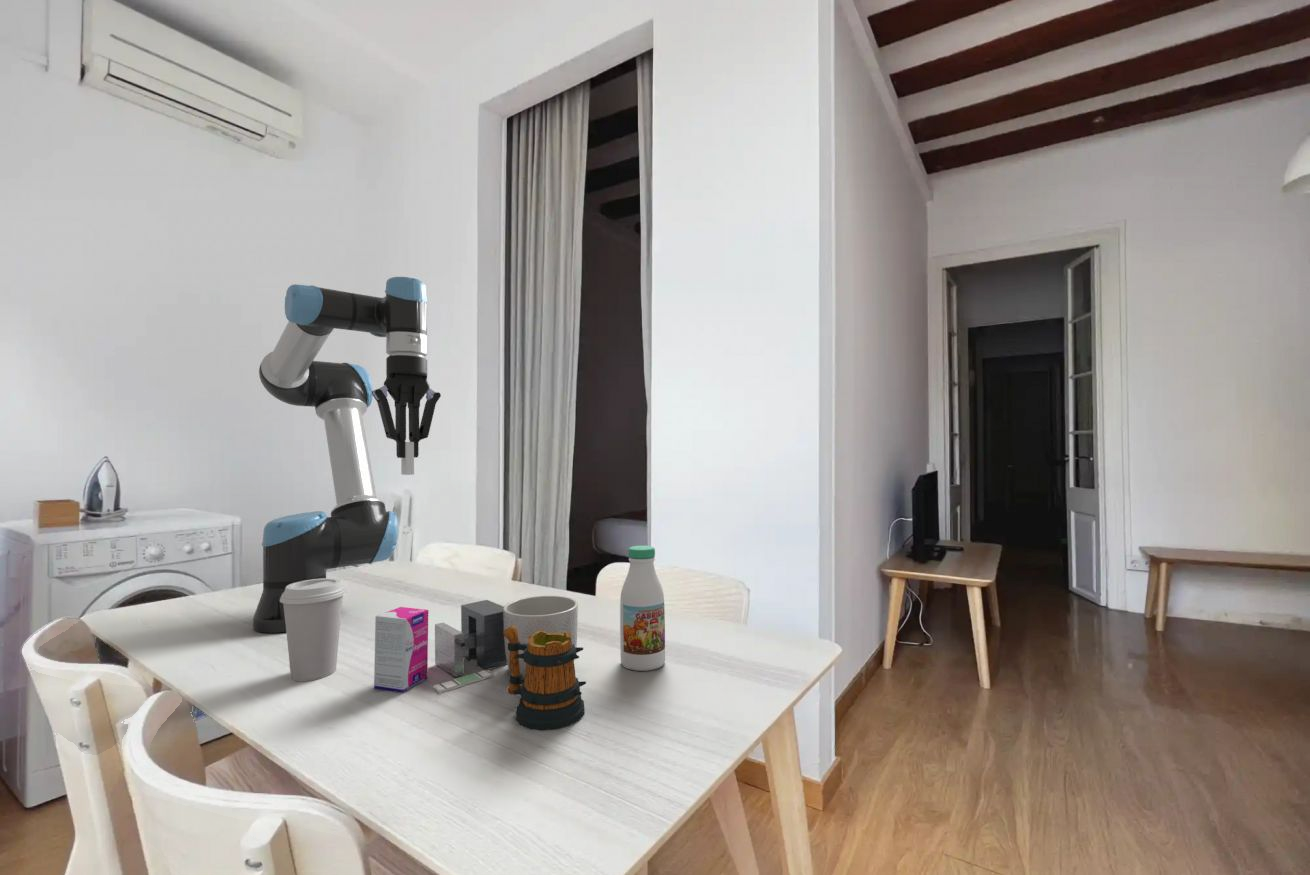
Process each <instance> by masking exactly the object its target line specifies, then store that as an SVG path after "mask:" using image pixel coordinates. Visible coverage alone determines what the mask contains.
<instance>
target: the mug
mask: <svg viewBox="0 0 1310 875" xmlns="http://www.w3.org/2000/svg"><path fill="white" fill-rule="evenodd" d="M503 634H504V636H505V637H506V638H507V639H508V640H509V643H508V650H509V651H510V653H509V666H510V669H509V670H510V675H508V676H509V677H508V682H509V685H508V687H507V693H508V694H509V695H512V696H519V695H520V698H519V701H518V705H517V706H516V711H515V721H516V722H517V723H518V725H519V726H520V727H523V728H525V729H528V730H532V731H539V732H540V731H542V732H544V731H555V730H556V731H557V730H560V729H564V728H567V727H570V726H573V725H574V724H575V723H578V722H580V720H581V719H582V718H583V717H584V716H585V701H584V699H582V694H583V693H582V692H581V687H583V686H586V684H587V681H582V680H580V681H579V678H578V677H577V676H576V669H575V668H576V667H575V660H577V659H580V656H579V655H578V654H577V653H579V652H581V651H583V650H584V647H582V646H581V647H575V645H573V644H572V641H571V633H569V632H564V634H562V633H546V632H544V631H540V630H538V631H537V632H536V633H534V634H532V635H531V636H529V642H528V644H524V643H522V644H521V642H519V636H518V630H517V628H516V627H515V626H514V625H513V626H511V627H509V628H507V629H506V630H504V631H503ZM519 650H523V651H524V653H522V654H519ZM519 658H521V659H524V662H526V671H525V678H523V677H522V674H521V673H520V663H519Z"/></svg>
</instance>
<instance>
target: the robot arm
mask: <svg viewBox="0 0 1310 875" xmlns="http://www.w3.org/2000/svg"><path fill="white" fill-rule="evenodd" d="M384 293H385V296H384V297H377V296H373V295H368V294H360V293H354V292H347V291H343V290H336V289H330V288H323V287H319V286H316V285H305V284H297V283H296V284H295V283H294V284H291V285H289V286H288V287H287V289H286V294H285V298H284V314H285V318H286V319H287V321H288V322H287V324H286V325H285V327H284V330H283V331H282V333H281V335H280V337H279V339H278V341H277V343H276V345H275V347H274V349H273V351H270V352H269V353H267V354H266V355H265V356H264V357H263V359H262V361H261V362H260V364H259V368H258V374H259V379H260V381H261V382H260V383H261V384H262V385H263V388H264V389H265V390H266V391H267V392H268V393H269V394H270V395H271V396H273V397H274V398H275V399H277V400H279V401H281V402H282V403H285V404H287V405H290V406H291V405H292V406H296V407H312V408H313V407H314V408H315V414H316V416H317V417H318V418H319V419H321V420H323V421H324V429H325V434H326V441H327V448H328V454H329V462H330V467H331V468H330V469H331V475H332V480H333V487H334V488H333V489H334V496H335V501H336V505H335V507H333V509H332V510H331V511H330V516H328V515H327V513H326V512H325V511H323V510H322V511H317V510H316V511H310V512H307V511H306V512H302V513H300V512H299V513H295V514H291V515H286V516H281V517H278V518H274V519H272V520H270V521H268V522H267V523H266V524H265V525H264V528H263V534H262V535H263V536H262V543H261V547H262V567H263V568H262V579H263V580H262V583H263V585H262V593H261V596H260V598H259V600H258V604H257V607H256V609H255V612H254V614H253V619H252V628H253V631H256V632H258V633H265V634H267V633H268V634H273V633H276V634H277V633H286V624H285V615H284V606H283V603H281V602H280V598H281V596H282V593H284V591H285V588H286V586H287V585H289V584H292V583H295V582H300V581H305V580H311V579H322V578H327V571H328V570H330V569H338V568H345V567H346V568H347V567H351V566H358V565H360V566H361V565H366V564H369V565H372V564H373V563H378V562H382V561H386V560H389V558H391V557H392V555H393V553H395V550H396V547H397V543H398V538H399V520H398V517H397V515H396V513H395V512H394V511H390V510H386V504H385V502H384V501H383V500H381V499H380V498H377V493H376V488H375V487H376V486H375V483H374V475H373V471H372V465H371V459H370V453H369V448H368V442H367V438H366V431H365V425H364V420H363V419H364V418H363V416H364V414H366V412H367V411H368V408H369V407H370V406H371V404H372V402H373V398H374V399H375V401H376V403H377V406H378V409H379V414H380V418H381V421H382V425H383V429H384V430H383V431H384V433H385V437H386V438H387V439H390V440H393V441H395V442H396V450H395V451H396V457H397V459H401V460H400V461H401V466H400V467H401V473H400V474H401V475H403V476H409V475H411V476H412V475H413V476H414V475H415V458H419V454H420V453H419V452H420V450H419V449H420V448H419V442H420V441H421V440H424V439H427V438H428V437H429V434H430V430H431V427H432V426H431V425H432V422H433V418H434V413H435V409H436V406H437V405H436V404H437V403H438V401H439V399H440V398H441V396H442V395H441V392H438V391H437V392H436V391H434V390H433V389H432V388H430V383H429V382H428V359H427V358H426V357H427V355H428V317H427V316H428V301H429V300H428V298H427V297H428V294H427V286H426V283H424V282H423V281H422V280H420V279H417V278H413V277H409V276H392V277H389V278H388V279H387V280H386V282H385V289H384ZM334 329H337V330H338V329H339V330H346V331H354V332H363V333H369V334H370V335H373V336H374V337H376V338H385V339H386V340H385V341H386V342H385V347H386V348H385V353H386V354H387V355H388V356H387V357H386V366H385V367H386V368H385V369H386V370H385V372H386V377H385V380H384V382H383V385H381V387H379V388H376V389H374V388H373V382H372V379H371V377H370V374H369V373H368V371H367V369H366V368H364V367H363V366H361V365H359V364H354V363H349V362H341V363H340V362H330V361H321V360H319V361H318V360H314V359H315V358H316V357H317V355H318V353H319V352H320V351H321V349H322V347H323V346H324V344H325V343H326V342H327V340H328V338H329V337H330V335H331V334H332V332H333V331H334ZM388 394H389V395H390V397H391V398H392V399H393V401H394V408H395V419H393V415H392V411H391V407H390V404H389V400H388V397H389V396H388ZM424 397H425V399H426V401H425V404H424V408H423V412H422V416H421V420H420V406H421V400H423V398H424ZM407 408H408V441H406V440H407ZM394 420H395V423H394Z"/></svg>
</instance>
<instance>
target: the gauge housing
mask: <svg viewBox="0 0 1310 875" xmlns="http://www.w3.org/2000/svg"><path fill="white" fill-rule="evenodd" d="M503 608H504V606H503V605H501V604H499V603H496V602H494V601H491V600H488V599H484V600H480V601H475V602H470V603H465V604H461V605H460V610H461V611H460V616H461V618H460V621H461V622H460V623H461V624H460V626H461V628H460V629H461V630H460V632H462V633H463V635H465V634H469V633H473V632H476V638H477V647H475V648H472V649H468V650H464V651H463V653H464V660H467V661H468V662H471V661H474V660H476V667H478V668H480V669H482V671H484V670H489V671H490V670H492V669H495V668H498V667H502V666H505V665H508V664H507V660H506V654H505V642H504V634H503V631H504V621H503Z"/></svg>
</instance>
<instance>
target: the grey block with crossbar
mask: <svg viewBox="0 0 1310 875" xmlns="http://www.w3.org/2000/svg"><path fill="white" fill-rule="evenodd" d="M475 647H477V638H476V632H473V633H469V634H465V635H463V633H462V632H461V630H458V629H456V628H455V627H453V626H451V625H449V624H447V623H446V622H439V623H434V663H435V665H437V666H439V667H440V668H441V669H443V670H444V671H446V672H448V673H449V674H451V675H452V676H454V677H458V676H461V675H464V672H465V671H464V669H465V668H464V667H465V666H464V665H465V662H464V660H465V658H464V653H463V651H464V650H468V649H472V648H475Z"/></svg>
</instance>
